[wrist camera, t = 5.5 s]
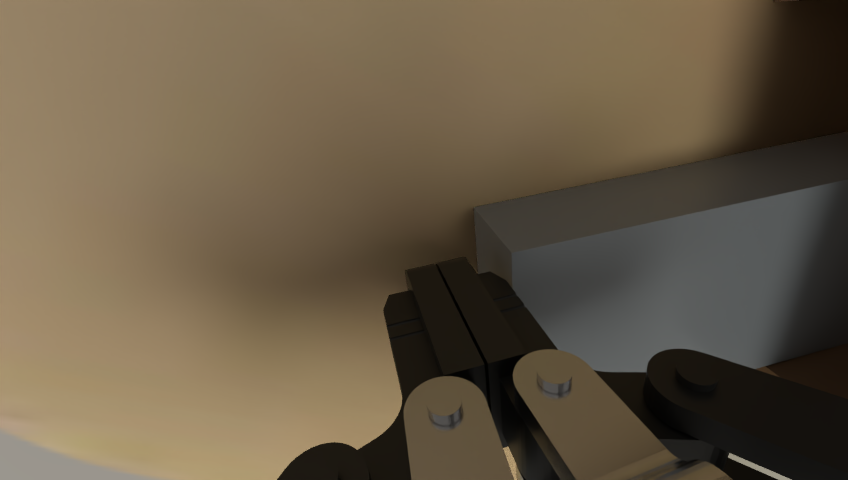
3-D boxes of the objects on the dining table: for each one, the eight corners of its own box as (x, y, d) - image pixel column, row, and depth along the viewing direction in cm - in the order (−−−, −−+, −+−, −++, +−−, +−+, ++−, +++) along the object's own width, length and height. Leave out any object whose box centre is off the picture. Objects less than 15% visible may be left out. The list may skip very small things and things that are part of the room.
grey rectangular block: (468, 201, 12) (511, 252, 9) (835, 128, 13) (962, 154, 10) (480, 361, 14) (515, 435, 12) (780, 286, 16) (870, 336, 13)
